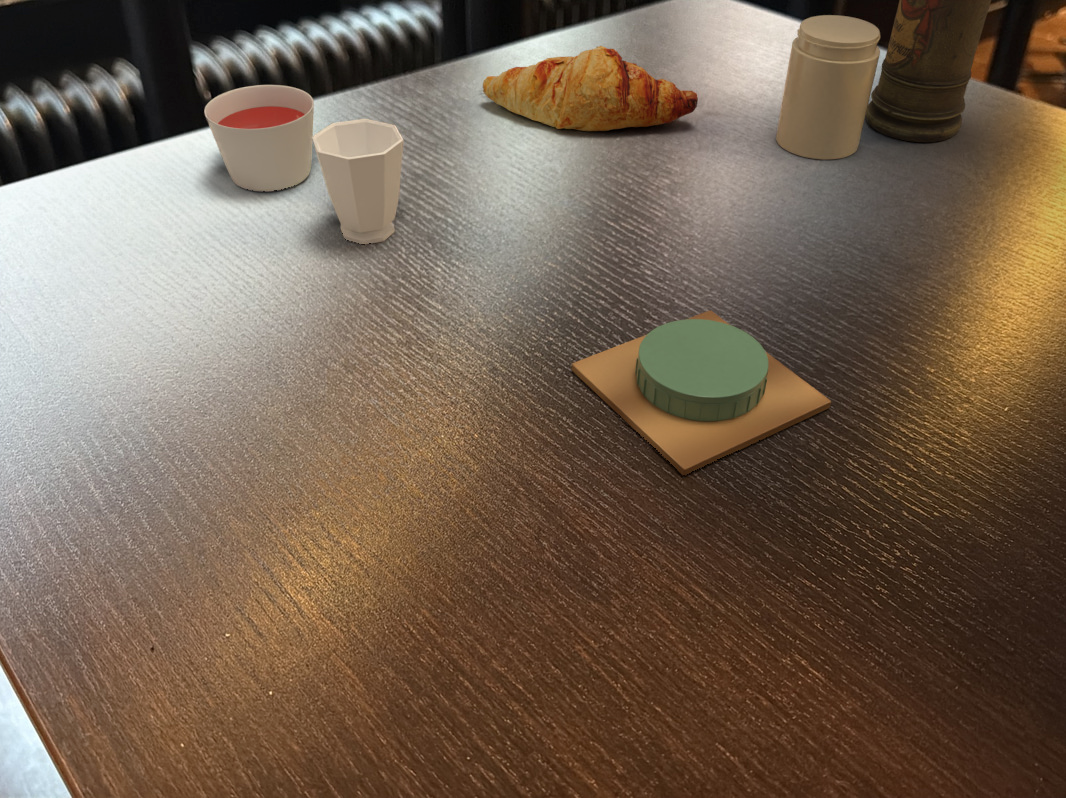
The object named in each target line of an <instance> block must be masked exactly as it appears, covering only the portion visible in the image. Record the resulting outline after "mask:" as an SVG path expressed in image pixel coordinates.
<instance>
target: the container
mask: <svg viewBox="0 0 1066 798" xmlns="http://www.w3.org/2000/svg"><path fill="white" fill-rule="evenodd" d="M991 2H992V0H899V1H898V4H897V5H898V6H897V9H896V14H895V17H894V22H893V26H892V30H891V34H890V39H889V41H888V46H887V49H886V54H885V57H884V59H883V61H882V63H881V71H880V76H879V80H878V82H877V85H876V86H875V87H874V89H873V90H871V94H870V99H871V101H869V103H868V107H867V111H866V116H865V120H866V122H867V123H868V125H869V126H870V127H871V128H872V129H874V131H877V132H878V133H880V134H882V135H884V136H887V137H890V138H893V139H898V140H901V141H905V142H906V141H907V142H915V143H933V142H941V141H945V140H948V139H951V138H953V137H954V136H955V135H956V134H957V133H958V131H959V130H960V129H961V126H962V123H963V116H962V114H963V112H964V111H965V109H966V102H965V101H966V99H965V95H966V91H967V88H968V85H969V84H968V83H970V81H971V79H972V68H973V65H974V60H975V57H976V52H977V49H978V46H979V42H980V39H981V36H982V32H983V30H984V26H985V23H986V19H987V16H988V12H989V8H990V6H991Z"/></svg>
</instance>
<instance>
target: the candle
mask: <svg viewBox="0 0 1066 798" xmlns="http://www.w3.org/2000/svg"><path fill="white" fill-rule="evenodd" d="M314 112H315V102H314V98H313V97H312V96H311V95H310V93H308V92H306V91H304V90H303V89H300V88H296V87H293V86H288V85H281V84H260V85H259V84H257V85H249V86H244V87H239V88H235V89H232V90H228V91H225V92H223V93H221V94H218V95H217V96H215V97H214V98H212V99H211V100H210V101H209V102H208V103H207V104H206V105H205V106H204V112H203V113H204V116H205V119H206V121H207V124H208V127H209V129H210V131H211V133H212V136H213V139H214V141H215V144H216V146H217V148H218V151H219V153H220V155H221V159H222V160H223V163H224V164H225V168H226V169H227V172H228V175H229V177H230V179H231V180H232V182H233V183H234V184H235V185H237V186H238V187H240V188H241V189H245V190H247V189H248V191H252V190H253V191H252V192H263V191H265V192H275V191H274V190H277V191H282V190H285V189H284V188H286V189H289V188H288V187H290V188H292V187H294V185H295V186H297V185H299V184H301V183H303V181H305V180H306V179H307V178H308V177H309V176H310V173H311V169H312V161H313V160H312V158H313V140H312V136H314ZM291 186H292V187H291ZM281 189H282V190H281Z"/></svg>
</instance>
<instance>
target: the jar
mask: <svg viewBox="0 0 1066 798" xmlns="http://www.w3.org/2000/svg"><path fill="white" fill-rule="evenodd" d="M796 32H797V36H796V37H795V38H794V39H793V41H792V42H791V48H790V54H789V60H788V65H787V71H786V76H785V82H784V83H785V84H784V88H783V94H782V100H781V106H780V111H779V116H778V123H777V129H776V134H775V140H776V142H777V144H778V145H779V146H780V147H781V148H782V149H784V150H785V151H787V152H789V153H791V154H793V155H796V156H799V157H802V158H807V159H813V160H826V161H827V160H829V161H830V160H839V159H844V158H847V157H850V156H851V155H853V154H855V153H857V150H858V149H859V146H860V141H861V136H862V132H863V128H864V124H865V120H866V111H867V107H868V104H869V103H870V99H871V94H872V91H873V90H872V89H873V85H874V81H875V76H876V72H877V68H878V63H879V59H880V56H881V55H880V54H881V49H880V47H879V46H878V44H879V42H880V40H881V32H880V29H879V28H878V27H877V26H876V25H875V24H874V23H871V22H869V21H867V20H863V19H860V18H856V17H852V16H845V15H836V14H833V15H832V14H827V15H826V14H823V15H816V16H815V15H814V16H810V17H808V18H806V19H805V18H804V19H803V20H802V21H801V22H800V24H799V28H798V29H797V31H796Z"/></svg>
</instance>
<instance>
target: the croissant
mask: <svg viewBox="0 0 1066 798" xmlns="http://www.w3.org/2000/svg"><path fill="white" fill-rule="evenodd" d="M482 89H483V90H482V92H483V94H484V95H485V96H486V97H487V99H489V100H491V101H493V102H494V103H495V104H497V105H499V106H501V107H503V108H504V109H506V110H507V111H508V112H512V113H513V114H515V115H520V116H522V117H525V118H527V119H530V120H532V121H534V122H539V123H541V124H544V125H546V126H550V127H553V128H556V130H557V129H558V130H562V129H565V130H577V131H581V132H605V131H606V132H607V131H610V130H621V129H626V128H647V127H652V126H659V125H664V124H670V123H673V122H674V121H676V120H679V119H680V118H682V117H685V116H686V115H689V114H691V113H694V112H695V110H696V109H697V107H698V101H699V99H698V98H699V97H698V94H697V92H695V91H693V90H683V89H682V90H681V89H679V88H678V87H677V85H676V84H675V83H674V82H672V81H669V80H666V79H665V78H659V79H656V78H655V77H653V76H652V75H650V74H649V73H648V71H647V70H646V69H644V68H643V67H642V66H639V65H638V64H637V63H634V62H628V61H626V60H623V57H622V55H620V54H619V52H618V50H616V49H614V48H608V47H605V46H603V45H599V46H596V48H592V49H586V50H583V51H580V53H578V55H575V56H555V57H546V58H545V59H543V60H541V61H538V62H537V63H536V64H531V65H528V66H513V67H511V68H509V69H507V70H505V71H502V72H501V73H500V74H499V75H497V76H494V75H491V76H490V75H489V76H486V78H484V80H483V82H482Z"/></svg>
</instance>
